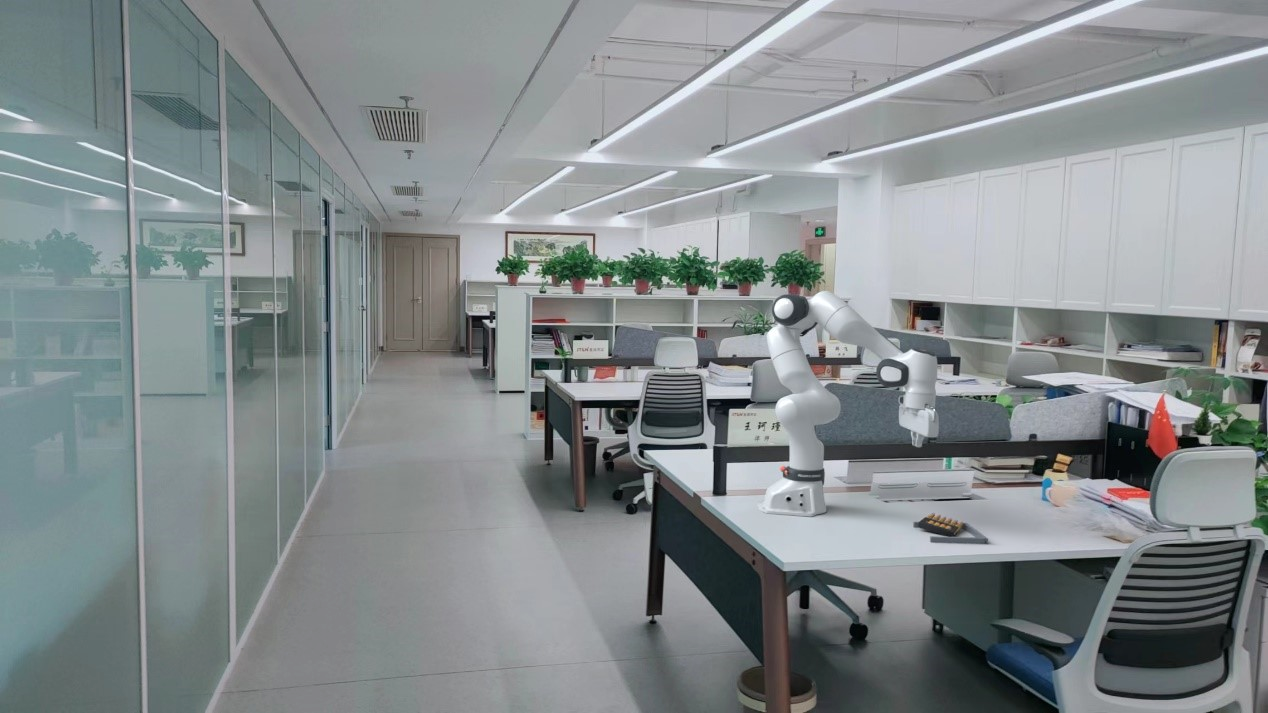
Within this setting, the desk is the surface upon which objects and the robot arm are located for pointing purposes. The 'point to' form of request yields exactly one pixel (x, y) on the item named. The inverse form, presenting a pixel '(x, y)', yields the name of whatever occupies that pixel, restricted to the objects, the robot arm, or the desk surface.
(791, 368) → the robot arm
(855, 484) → the desk surface
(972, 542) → the grey frame
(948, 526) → the ammunition clip
